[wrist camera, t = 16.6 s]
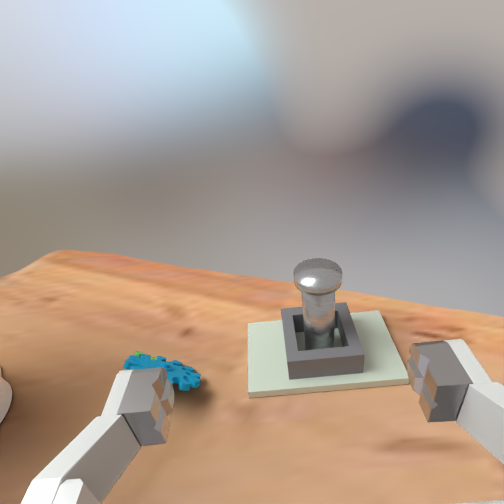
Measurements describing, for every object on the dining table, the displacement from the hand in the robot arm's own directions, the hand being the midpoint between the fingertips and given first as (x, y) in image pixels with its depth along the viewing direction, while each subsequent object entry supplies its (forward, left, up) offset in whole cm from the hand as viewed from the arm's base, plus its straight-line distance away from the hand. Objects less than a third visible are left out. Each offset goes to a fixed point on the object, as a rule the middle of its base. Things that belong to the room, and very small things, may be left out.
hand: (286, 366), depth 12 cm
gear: (-16, +22, -30) cm, 41 cm away
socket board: (+5, +25, -30) cm, 39 cm away
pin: (+5, +25, -29) cm, 38 cm away
